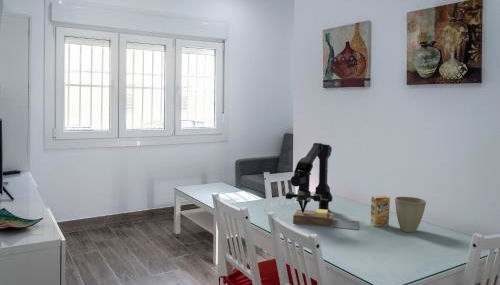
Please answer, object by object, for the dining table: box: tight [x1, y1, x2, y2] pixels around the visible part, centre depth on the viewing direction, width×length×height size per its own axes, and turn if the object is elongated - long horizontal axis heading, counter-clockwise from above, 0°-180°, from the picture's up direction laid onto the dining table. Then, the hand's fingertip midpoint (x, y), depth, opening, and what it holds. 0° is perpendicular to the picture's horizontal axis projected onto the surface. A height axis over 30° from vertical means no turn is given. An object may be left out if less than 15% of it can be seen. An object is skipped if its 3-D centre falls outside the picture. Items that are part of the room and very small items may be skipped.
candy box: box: [369, 195, 391, 227], centre depth 224 cm, size 9×4×15 cm, turn 107°
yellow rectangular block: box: [315, 208, 328, 218], centre depth 227 cm, size 9×6×2 cm, turn 165°
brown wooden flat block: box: [292, 209, 335, 228], centre depth 228 cm, size 14×20×4 cm
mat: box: [331, 218, 360, 231], centre depth 224 cm, size 16×13×1 cm
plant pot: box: [394, 196, 427, 233], centre depth 216 cm, size 15×15×16 cm
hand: (302, 212), depth 230 cm, fingers closed
